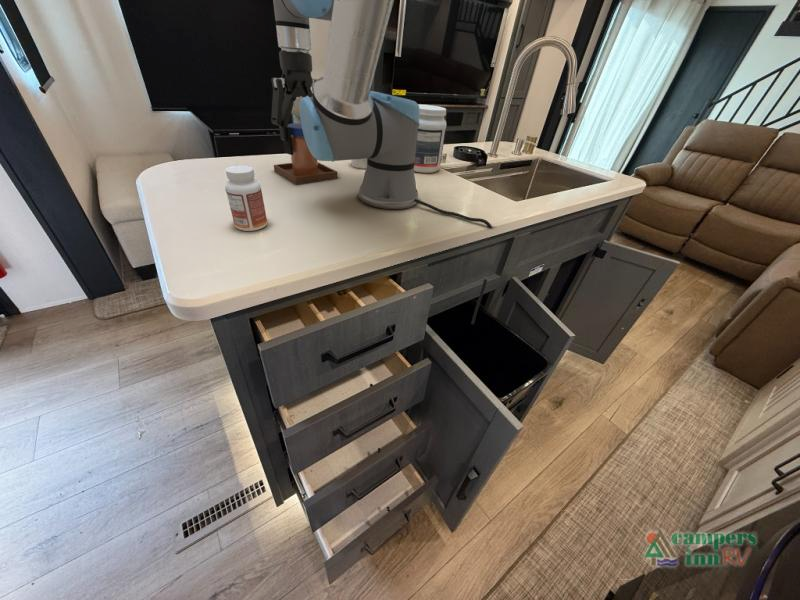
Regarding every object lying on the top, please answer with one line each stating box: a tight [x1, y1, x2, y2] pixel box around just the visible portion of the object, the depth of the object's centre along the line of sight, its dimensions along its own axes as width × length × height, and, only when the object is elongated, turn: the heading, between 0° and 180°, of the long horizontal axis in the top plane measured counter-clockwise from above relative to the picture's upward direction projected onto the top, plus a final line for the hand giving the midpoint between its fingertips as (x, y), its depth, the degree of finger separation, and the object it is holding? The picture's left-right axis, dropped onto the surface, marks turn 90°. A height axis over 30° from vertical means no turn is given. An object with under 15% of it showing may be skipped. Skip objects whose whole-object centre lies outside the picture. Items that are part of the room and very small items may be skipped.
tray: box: [273, 161, 339, 186], centre depth 94 cm, size 13×13×2 cm
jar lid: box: [287, 122, 304, 137], centre depth 87 cm, size 8×8×2 cm
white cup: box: [350, 159, 367, 170], centre depth 104 cm, size 8×8×10 cm
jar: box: [290, 135, 319, 176], centre depth 91 cm, size 7×7×12 cm
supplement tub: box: [414, 103, 447, 174], centre depth 105 cm, size 13×13×18 cm
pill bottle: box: [224, 165, 268, 232], centre depth 62 cm, size 6×6×11 cm
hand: (303, 151), depth 90 cm, fingers open, 9 cm apart
